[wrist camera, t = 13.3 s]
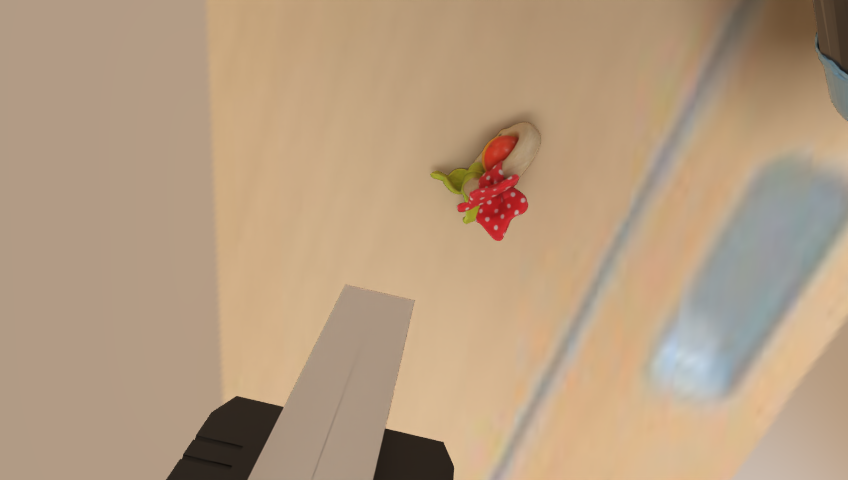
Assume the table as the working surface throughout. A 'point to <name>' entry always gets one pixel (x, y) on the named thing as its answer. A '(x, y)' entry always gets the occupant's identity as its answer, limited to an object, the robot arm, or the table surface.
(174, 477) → the robot arm
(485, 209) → the bird rattle
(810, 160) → the table surface
